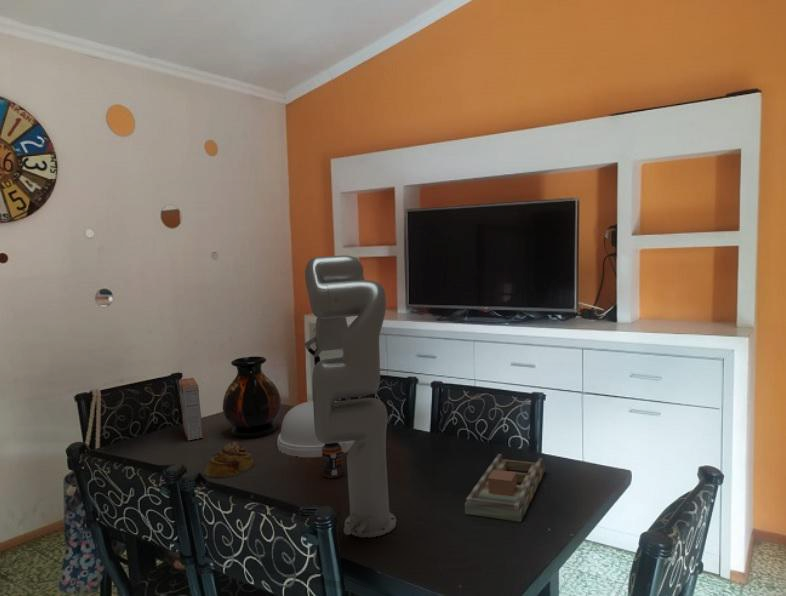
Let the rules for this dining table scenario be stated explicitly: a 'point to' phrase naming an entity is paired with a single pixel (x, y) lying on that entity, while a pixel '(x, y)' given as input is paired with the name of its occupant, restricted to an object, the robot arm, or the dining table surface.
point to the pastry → (229, 461)
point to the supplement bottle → (332, 460)
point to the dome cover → (302, 433)
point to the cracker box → (191, 408)
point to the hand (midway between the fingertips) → (334, 367)
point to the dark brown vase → (251, 400)
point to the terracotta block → (502, 482)
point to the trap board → (505, 505)
